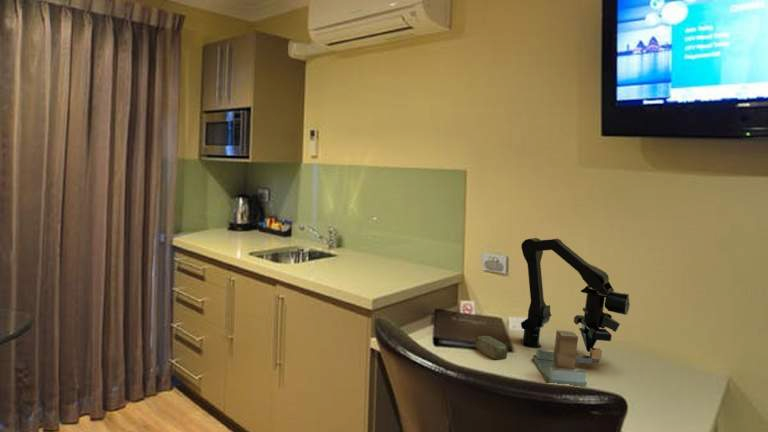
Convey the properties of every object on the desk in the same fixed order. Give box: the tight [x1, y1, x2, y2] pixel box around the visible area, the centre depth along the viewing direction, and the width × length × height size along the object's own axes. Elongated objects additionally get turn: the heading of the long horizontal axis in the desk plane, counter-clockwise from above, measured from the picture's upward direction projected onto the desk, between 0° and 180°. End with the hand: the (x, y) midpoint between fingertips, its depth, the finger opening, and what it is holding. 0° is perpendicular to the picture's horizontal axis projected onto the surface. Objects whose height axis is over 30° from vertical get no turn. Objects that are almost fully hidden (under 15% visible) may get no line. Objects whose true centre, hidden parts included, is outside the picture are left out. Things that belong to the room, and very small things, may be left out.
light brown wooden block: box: [535, 347, 603, 365], centre depth 164 cm, size 2×20×5 cm, turn 88°
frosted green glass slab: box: [532, 354, 587, 387], centre depth 158 cm, size 20×11×4 cm, turn 178°
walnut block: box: [552, 329, 579, 369], centre depth 153 cm, size 5×5×13 cm
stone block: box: [475, 335, 508, 360], centre depth 170 cm, size 6×12×5 cm, turn 27°
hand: (588, 351), depth 170 cm, fingers closed
